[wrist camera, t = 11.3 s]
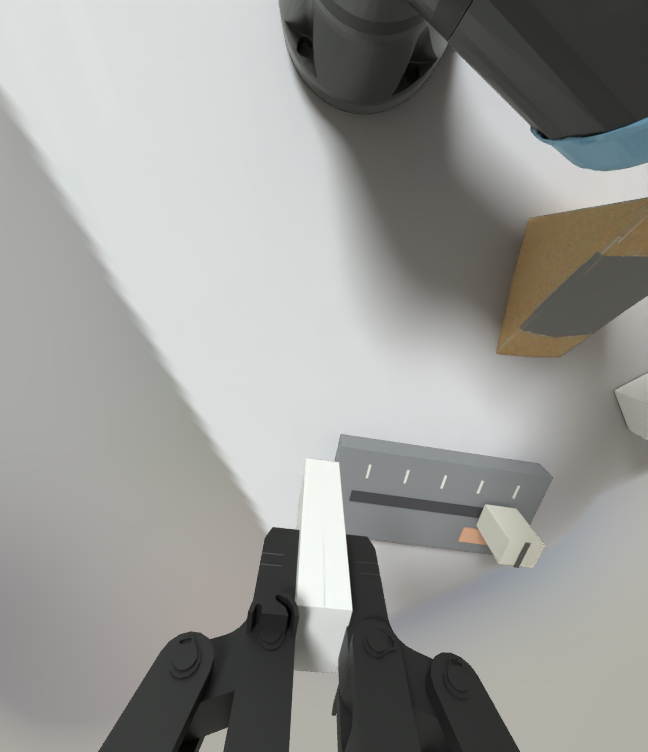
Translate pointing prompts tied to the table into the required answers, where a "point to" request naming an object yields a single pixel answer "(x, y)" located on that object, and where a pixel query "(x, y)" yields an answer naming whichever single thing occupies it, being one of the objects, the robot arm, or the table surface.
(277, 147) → the table surface
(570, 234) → the sandwich container
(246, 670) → the robot arm
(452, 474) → the fader console
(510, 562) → the fader knob
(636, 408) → the milk carton
